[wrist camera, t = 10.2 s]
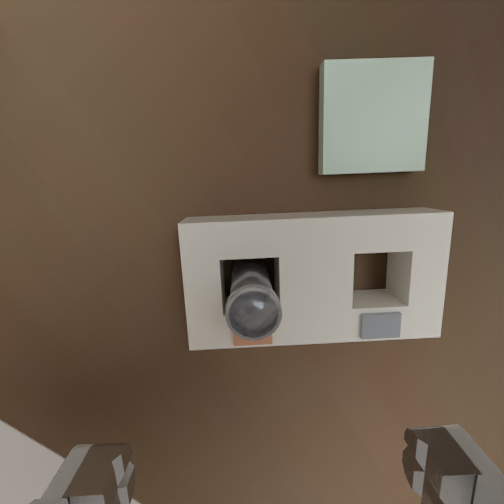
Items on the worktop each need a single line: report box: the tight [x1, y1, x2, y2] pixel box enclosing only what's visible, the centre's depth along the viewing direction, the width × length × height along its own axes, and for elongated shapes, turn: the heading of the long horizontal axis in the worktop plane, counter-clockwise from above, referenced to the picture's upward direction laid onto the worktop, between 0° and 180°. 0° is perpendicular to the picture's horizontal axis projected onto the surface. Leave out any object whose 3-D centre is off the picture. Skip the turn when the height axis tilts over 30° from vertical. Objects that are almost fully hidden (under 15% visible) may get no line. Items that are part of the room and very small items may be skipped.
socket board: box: [178, 207, 454, 350], centre depth 26 cm, size 20×10×4 cm, turn 92°
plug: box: [225, 258, 282, 341], centre depth 23 cm, size 3×3×9 cm
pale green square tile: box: [318, 57, 434, 175], centre depth 24 cm, size 8×8×2 cm
